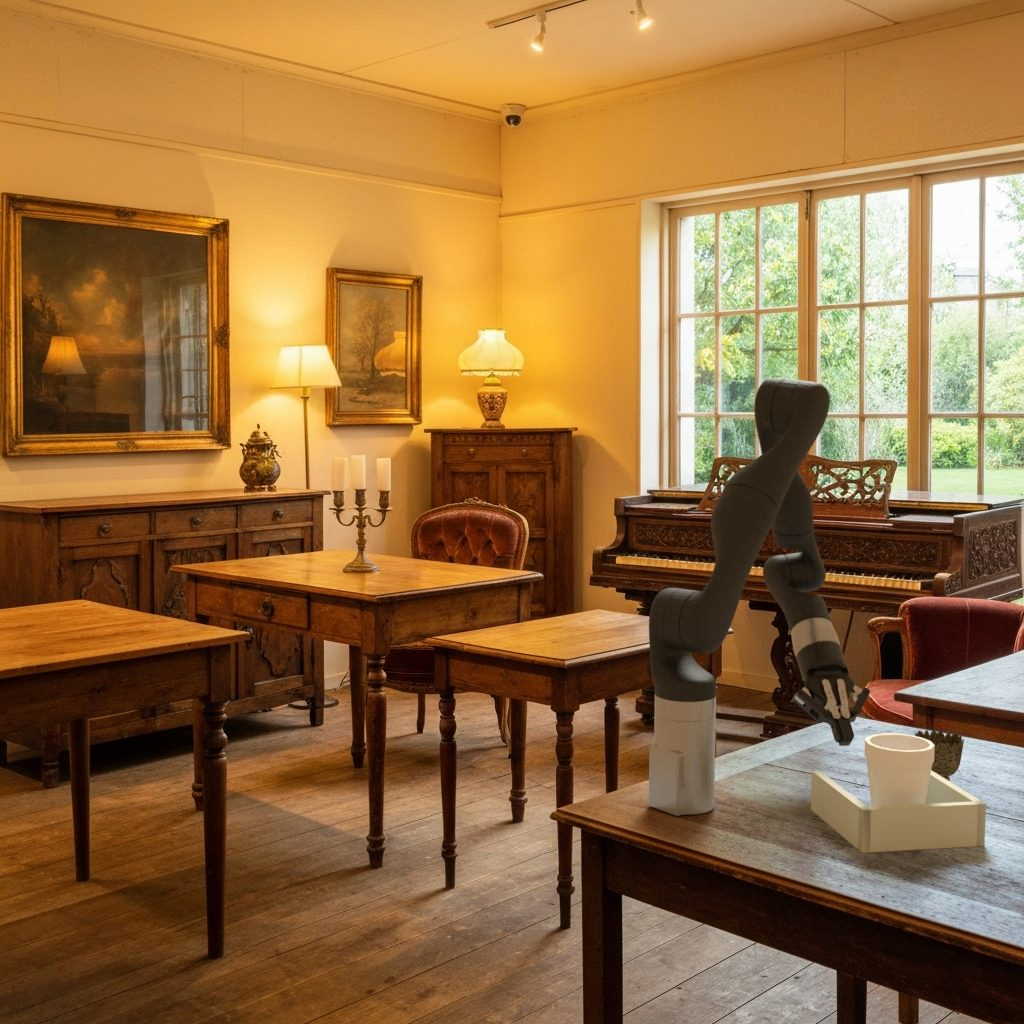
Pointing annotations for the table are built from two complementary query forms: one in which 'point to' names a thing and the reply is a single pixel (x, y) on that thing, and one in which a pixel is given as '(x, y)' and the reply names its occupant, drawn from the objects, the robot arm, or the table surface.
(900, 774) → the foam cup
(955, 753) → the cup
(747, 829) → the table surface
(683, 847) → the table surface
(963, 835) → the walled box
